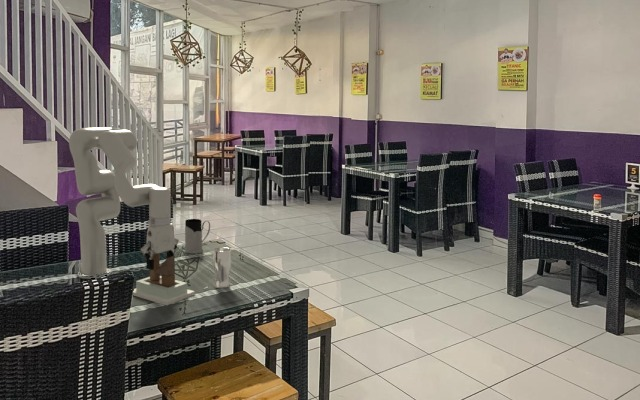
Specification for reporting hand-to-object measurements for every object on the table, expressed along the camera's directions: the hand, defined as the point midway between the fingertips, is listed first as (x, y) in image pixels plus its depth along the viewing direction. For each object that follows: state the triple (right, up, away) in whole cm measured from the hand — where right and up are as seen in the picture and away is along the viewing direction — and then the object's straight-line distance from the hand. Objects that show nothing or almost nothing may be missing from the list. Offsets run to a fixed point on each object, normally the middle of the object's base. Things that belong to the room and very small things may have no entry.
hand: (160, 265), depth 203 cm
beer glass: (+21, -10, +13) cm, 26 cm away
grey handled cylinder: (0, 0, +63) cm, 63 cm away
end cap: (0, -11, +2) cm, 11 cm away
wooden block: (0, -10, +2) cm, 10 cm away
